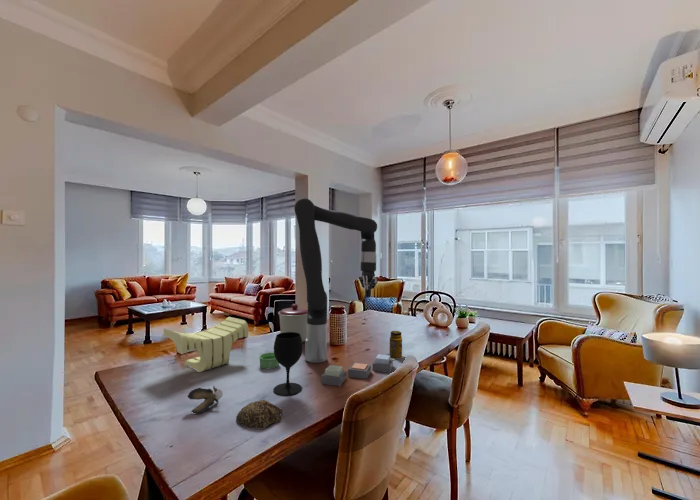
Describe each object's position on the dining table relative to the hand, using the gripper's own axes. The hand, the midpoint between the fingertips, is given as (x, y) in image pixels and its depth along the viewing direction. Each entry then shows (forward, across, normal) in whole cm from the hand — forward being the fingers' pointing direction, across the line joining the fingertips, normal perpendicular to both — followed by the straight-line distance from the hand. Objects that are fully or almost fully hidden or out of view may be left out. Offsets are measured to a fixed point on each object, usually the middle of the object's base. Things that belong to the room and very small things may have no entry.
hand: (367, 297), depth 148 cm
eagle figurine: (+29, +10, -72) cm, 79 cm away
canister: (+29, -43, -19) cm, 55 cm away
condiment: (+29, +5, +12) cm, 32 cm away
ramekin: (+29, -15, -43) cm, 54 cm away
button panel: (+29, +14, -14) cm, 35 cm away
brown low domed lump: (+30, +25, -59) cm, 71 cm away
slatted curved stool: (+29, -30, -66) cm, 78 cm away
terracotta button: (+29, +14, -14) cm, 35 cm away
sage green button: (+27, +14, -27) cm, 41 cm away
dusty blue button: (+27, +14, -2) cm, 30 cm away
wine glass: (+29, +12, -45) cm, 55 cm away
